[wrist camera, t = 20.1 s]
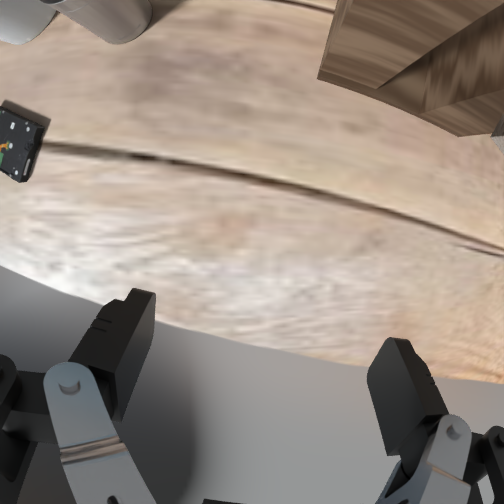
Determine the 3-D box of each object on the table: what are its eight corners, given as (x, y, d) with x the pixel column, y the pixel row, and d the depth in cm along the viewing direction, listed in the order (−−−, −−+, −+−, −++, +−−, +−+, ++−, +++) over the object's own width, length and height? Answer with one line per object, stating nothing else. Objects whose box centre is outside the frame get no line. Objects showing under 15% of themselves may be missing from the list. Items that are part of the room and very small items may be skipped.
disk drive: (47, 126, 43) (1, 106, 42) (37, 125, 40) (-9, 104, 39) (29, 182, 46) (-14, 156, 45) (19, 183, 43) (-24, 157, 42)
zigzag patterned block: (458, 136, 39) (631, 130, 8) (316, 79, 39) (392, -69, 8) (469, 61, 35) (611, 5, 5) (337, 2, 35) (399, -151, 4)
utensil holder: (75, -22, 35) (23, -60, 18) (44, 46, 39) (-22, 21, 22) (26, -13, 35) (-25, -39, 18) (-1, 49, 39) (-61, 34, 22)
